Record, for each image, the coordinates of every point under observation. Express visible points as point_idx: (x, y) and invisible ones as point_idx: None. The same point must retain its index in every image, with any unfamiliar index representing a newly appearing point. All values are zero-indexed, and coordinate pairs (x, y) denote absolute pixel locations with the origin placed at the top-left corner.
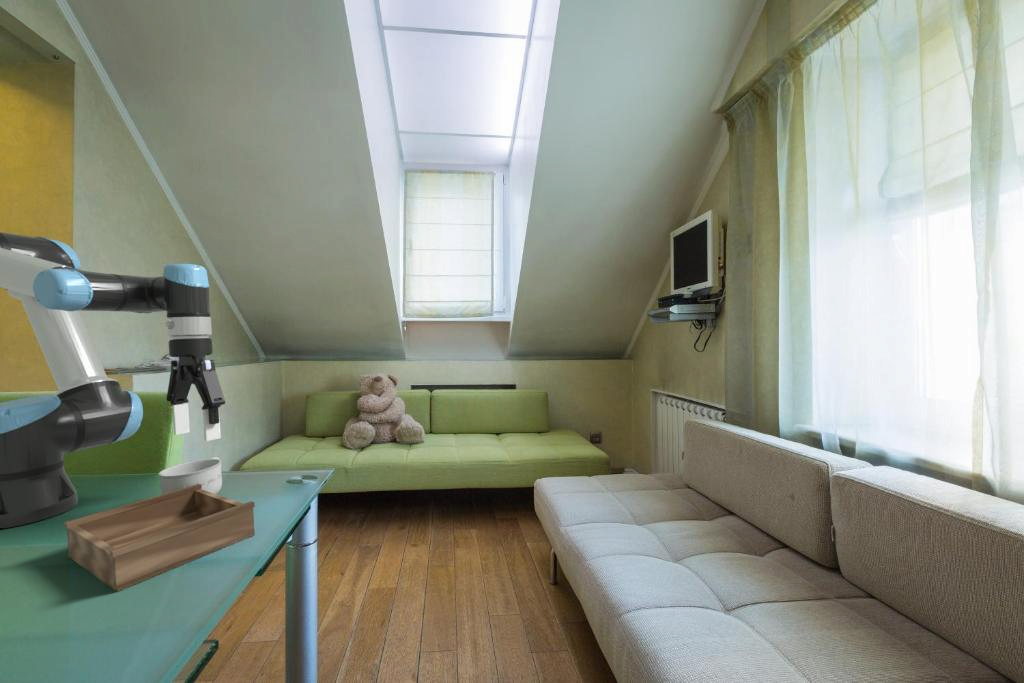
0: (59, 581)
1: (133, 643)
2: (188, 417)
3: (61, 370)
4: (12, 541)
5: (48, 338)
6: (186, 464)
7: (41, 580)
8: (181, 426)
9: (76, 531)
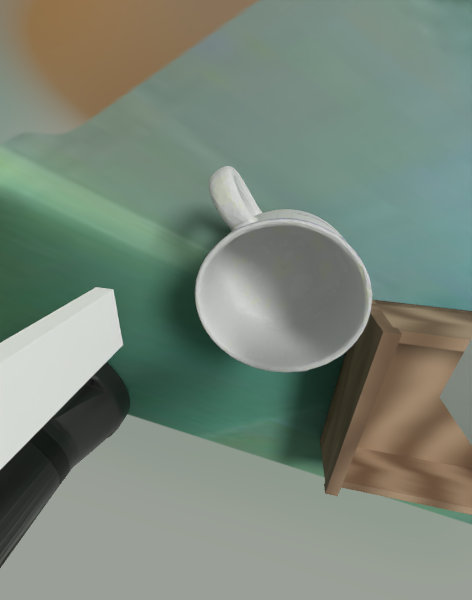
0: None
1: None
2: (40, 337)
3: None
4: (186, 430)
5: None
6: (203, 277)
7: None
8: (92, 344)
9: (365, 491)
